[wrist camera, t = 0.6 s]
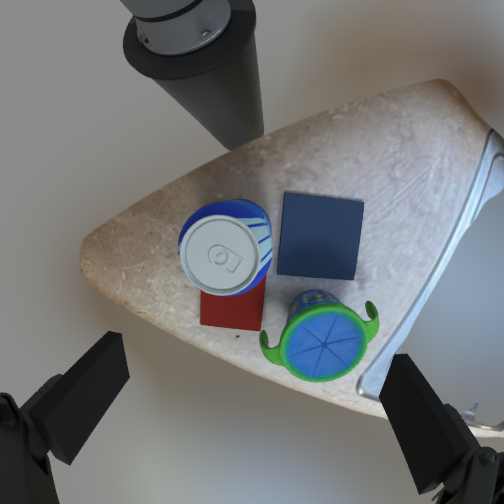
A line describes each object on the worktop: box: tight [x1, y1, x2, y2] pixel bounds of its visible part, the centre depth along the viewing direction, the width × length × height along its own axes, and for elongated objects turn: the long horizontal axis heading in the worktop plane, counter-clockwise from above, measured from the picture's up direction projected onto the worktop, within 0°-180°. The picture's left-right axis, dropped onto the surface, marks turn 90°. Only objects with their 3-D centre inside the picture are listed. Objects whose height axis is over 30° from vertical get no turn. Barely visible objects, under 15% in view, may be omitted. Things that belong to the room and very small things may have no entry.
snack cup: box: [259, 290, 379, 382], centre depth 34 cm, size 16×10×10 cm
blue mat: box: [277, 193, 364, 280], centre depth 37 cm, size 11×11×1 cm
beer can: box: [178, 199, 272, 296], centre depth 30 cm, size 8×8×16 cm
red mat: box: [200, 274, 266, 331], centre depth 39 cm, size 9×9×1 cm
